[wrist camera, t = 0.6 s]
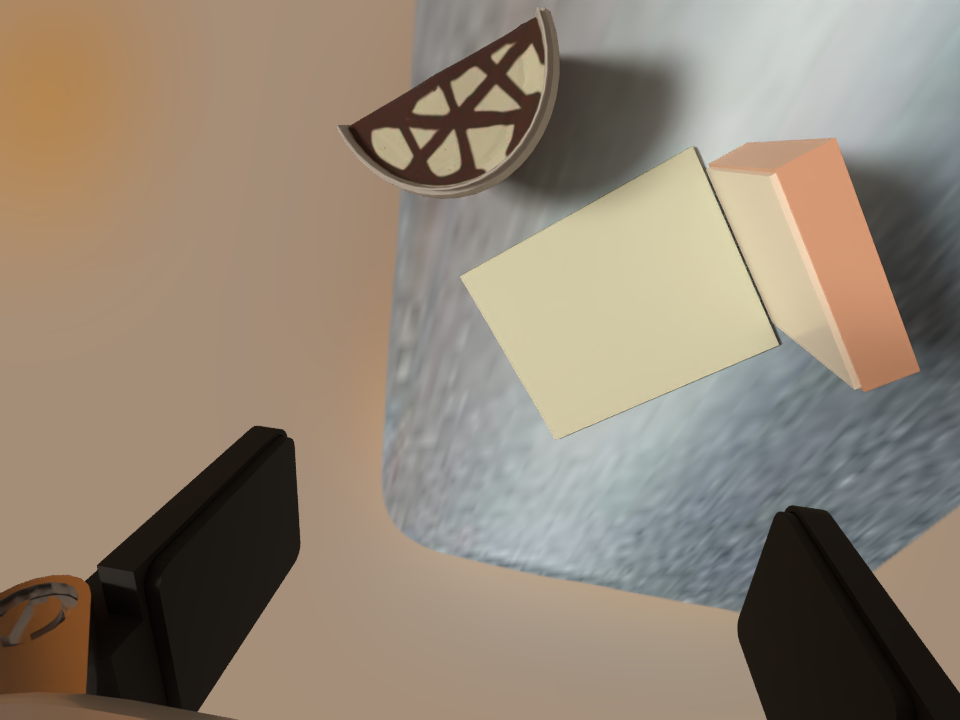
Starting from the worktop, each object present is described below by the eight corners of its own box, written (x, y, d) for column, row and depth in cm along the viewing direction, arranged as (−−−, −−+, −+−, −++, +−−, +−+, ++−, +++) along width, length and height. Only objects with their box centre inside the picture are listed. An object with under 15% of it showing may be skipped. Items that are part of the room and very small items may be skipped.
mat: (691, 146, 34) (693, 146, 34) (777, 343, 38) (779, 344, 38) (461, 275, 40) (460, 276, 39) (555, 437, 43) (555, 440, 43)
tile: (747, 142, 34) (835, 137, 23) (813, 305, 37) (920, 371, 26) (703, 166, 35) (768, 172, 24) (771, 323, 38) (858, 394, 27)
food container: (427, 219, 39) (384, 240, 29) (386, 136, 37) (327, 130, 28) (590, 138, 35) (599, 132, 26) (553, 42, 33) (549, 0, 24)
